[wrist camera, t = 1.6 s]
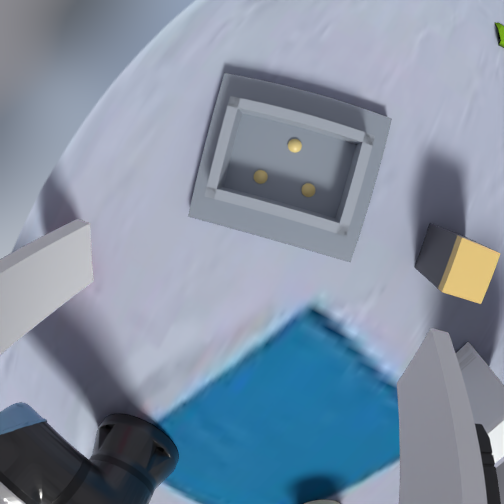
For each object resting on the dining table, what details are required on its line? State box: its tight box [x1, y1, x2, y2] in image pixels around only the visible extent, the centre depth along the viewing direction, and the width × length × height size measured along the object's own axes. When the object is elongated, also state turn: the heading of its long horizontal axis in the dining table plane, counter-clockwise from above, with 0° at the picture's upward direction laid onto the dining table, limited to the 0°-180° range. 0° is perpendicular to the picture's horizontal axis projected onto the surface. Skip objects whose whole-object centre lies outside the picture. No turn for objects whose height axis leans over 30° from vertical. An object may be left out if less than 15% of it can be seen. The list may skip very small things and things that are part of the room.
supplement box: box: [456, 342, 504, 463], centre depth 30 cm, size 9×9×15 cm
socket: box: [188, 73, 392, 262], centre depth 31 cm, size 16×18×4 cm
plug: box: [415, 223, 500, 304], centre depth 29 cm, size 6×6×8 cm
